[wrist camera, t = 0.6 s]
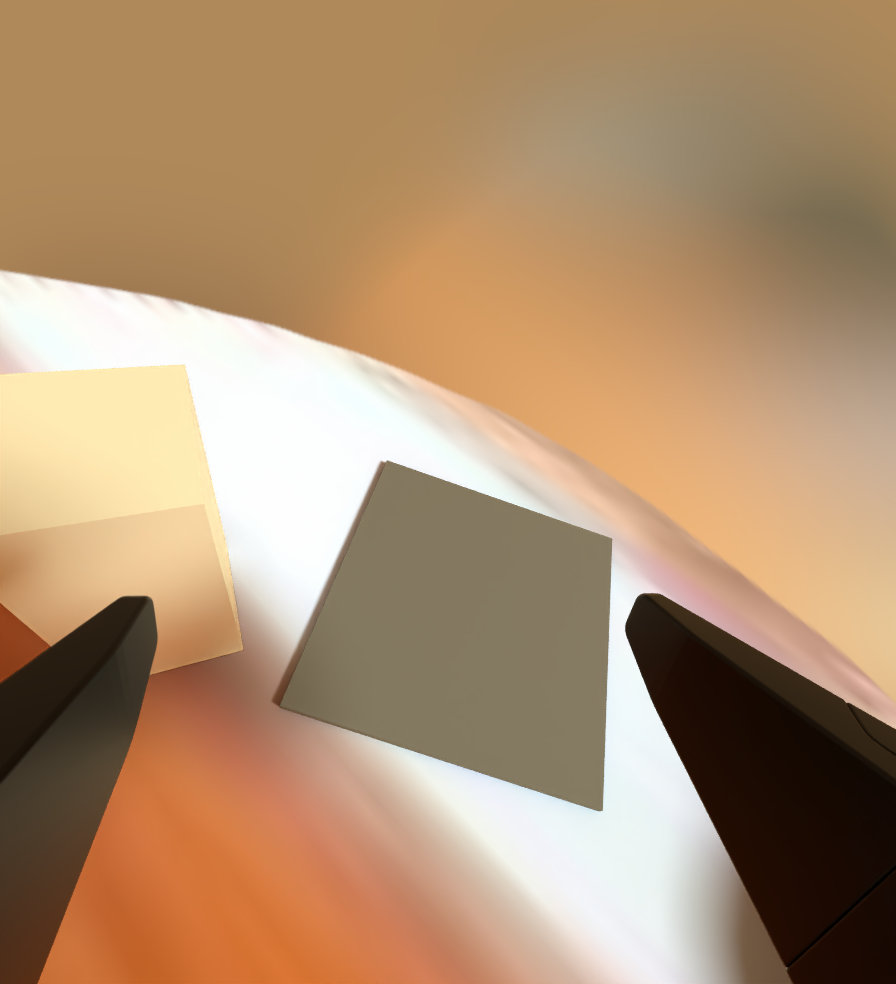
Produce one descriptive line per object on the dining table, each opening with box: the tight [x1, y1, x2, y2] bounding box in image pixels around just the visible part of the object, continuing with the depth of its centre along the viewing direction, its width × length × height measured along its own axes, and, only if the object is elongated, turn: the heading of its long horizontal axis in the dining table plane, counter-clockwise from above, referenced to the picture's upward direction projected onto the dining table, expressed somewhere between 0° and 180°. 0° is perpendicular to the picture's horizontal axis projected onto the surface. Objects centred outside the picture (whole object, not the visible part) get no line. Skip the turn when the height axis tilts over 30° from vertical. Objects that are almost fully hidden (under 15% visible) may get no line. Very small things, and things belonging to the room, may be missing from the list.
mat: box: [280, 461, 612, 811], centre depth 27 cm, size 15×15×1 cm
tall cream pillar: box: [0, 365, 243, 675], centre depth 18 cm, size 6×6×12 cm
